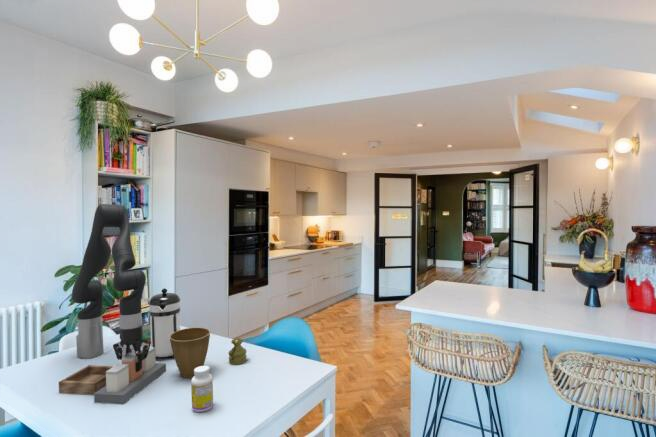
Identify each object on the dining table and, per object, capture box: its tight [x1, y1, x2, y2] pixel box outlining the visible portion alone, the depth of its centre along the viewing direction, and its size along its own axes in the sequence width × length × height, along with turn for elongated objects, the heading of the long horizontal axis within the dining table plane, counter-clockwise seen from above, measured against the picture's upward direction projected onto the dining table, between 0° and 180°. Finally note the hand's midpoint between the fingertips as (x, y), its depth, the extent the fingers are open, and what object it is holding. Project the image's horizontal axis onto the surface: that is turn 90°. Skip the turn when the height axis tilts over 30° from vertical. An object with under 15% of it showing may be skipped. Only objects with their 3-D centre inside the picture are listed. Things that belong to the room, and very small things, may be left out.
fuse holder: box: [93, 362, 167, 405], centre depth 137 cm, size 25×11×3 cm, turn 173°
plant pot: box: [170, 326, 211, 379], centre depth 145 cm, size 15×15×16 cm
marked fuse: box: [121, 352, 143, 382], centre depth 137 cm, size 6×4×10 cm, turn 173°
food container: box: [142, 321, 151, 344], centre depth 180 cm, size 12×6×10 cm, turn 168°
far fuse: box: [141, 346, 157, 372], centre depth 145 cm, size 6×4×10 cm, turn 173°
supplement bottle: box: [190, 365, 214, 413], centre depth 120 cm, size 7×7×13 cm
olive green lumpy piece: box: [228, 336, 248, 366], centre depth 156 cm, size 7×7×10 cm
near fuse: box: [106, 363, 129, 393], centre depth 129 cm, size 6×4×10 cm, turn 173°
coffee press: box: [148, 288, 181, 360], centre depth 165 cm, size 17×16×30 cm
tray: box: [58, 364, 115, 396], centre depth 138 cm, size 14×14×4 cm
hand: (132, 370), depth 137 cm, fingers closed on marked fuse, 4 cm apart
